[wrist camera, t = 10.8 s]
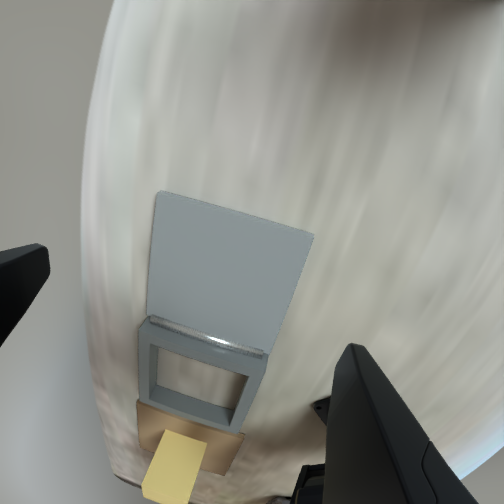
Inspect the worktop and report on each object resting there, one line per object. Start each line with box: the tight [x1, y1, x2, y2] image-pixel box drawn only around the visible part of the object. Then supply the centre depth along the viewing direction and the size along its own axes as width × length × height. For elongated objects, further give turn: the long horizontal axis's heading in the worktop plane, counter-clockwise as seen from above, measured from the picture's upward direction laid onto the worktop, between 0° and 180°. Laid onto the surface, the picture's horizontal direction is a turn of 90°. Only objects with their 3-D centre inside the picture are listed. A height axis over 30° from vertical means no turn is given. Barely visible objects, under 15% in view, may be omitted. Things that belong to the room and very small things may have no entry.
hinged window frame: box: [138, 191, 314, 434], centre depth 24 cm, size 10×20×2 cm, turn 166°
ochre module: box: [141, 429, 207, 504], centre depth 29 cm, size 5×5×8 cm
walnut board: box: [137, 399, 245, 476], centre depth 33 cm, size 12×12×1 cm
